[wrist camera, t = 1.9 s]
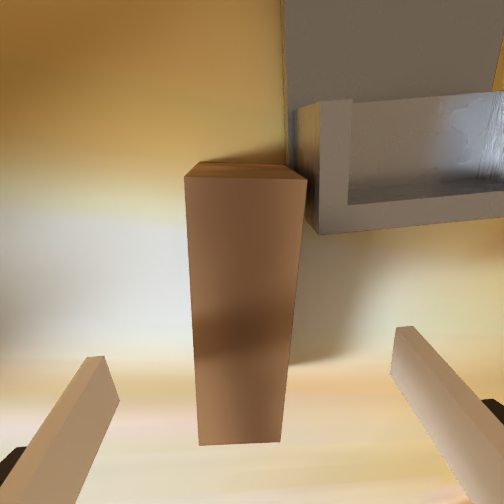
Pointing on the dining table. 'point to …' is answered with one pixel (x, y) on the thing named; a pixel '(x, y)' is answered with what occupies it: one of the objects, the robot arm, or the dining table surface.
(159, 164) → the dining table surface
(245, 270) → the brown wooden block
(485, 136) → the bracket
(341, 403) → the dining table surface
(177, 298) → the dining table surface
